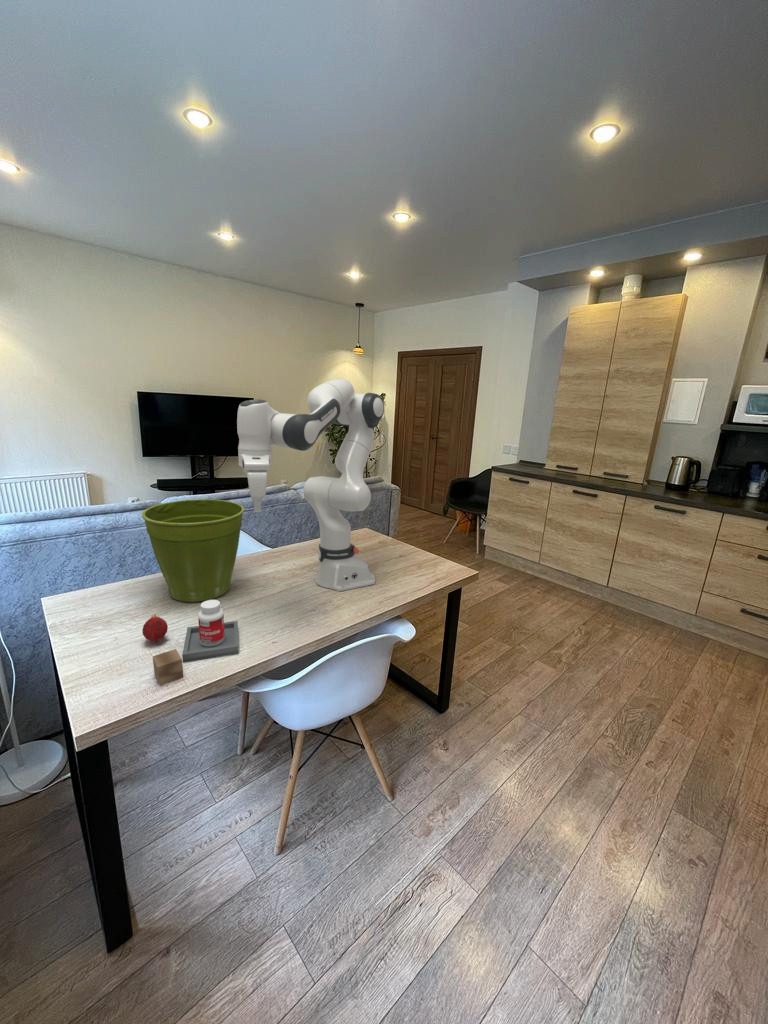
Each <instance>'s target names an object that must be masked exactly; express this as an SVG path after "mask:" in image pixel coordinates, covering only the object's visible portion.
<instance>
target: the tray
mask: <svg viewBox="0 0 768 1024" xmlns="http://www.w3.org/2000/svg"><path fill="white" fill-rule="evenodd" d="M238 624H239V622H238V620H234V621H226V622H225V621H224V632H225V639H224V641H223V642H222V643H221V644H219V645H216V646H212V647H206V646H203V645H201V643H200V636H199V625H195V626H188V627H186V634H185V638H184V642H183V643H184V644H183V648H182V649H183V650H182V655H181V658H182V663H189V662H195V661H201V660H206V659H212V658H213V659H214V658H220V657H226V656H233V655H238V654H239V625H238Z"/></svg>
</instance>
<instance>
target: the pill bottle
mask: <svg viewBox="0 0 768 1024" xmlns="http://www.w3.org/2000/svg"><path fill="white" fill-rule="evenodd" d="M200 610H201V611H199V613H198V616H197V617H198V626H199V636H200V643H201V645H203V646H206V647H212V646H216V645H219V644H221V643H222V642H223V641H224V639H225V632H224V623H225V614H224V610H223V609H222V607H221V602H220V601H219V600H217V599H210V600H205V601H202V602H201V604H200Z"/></svg>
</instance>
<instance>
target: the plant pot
mask: <svg viewBox="0 0 768 1024" xmlns="http://www.w3.org/2000/svg"><path fill="white" fill-rule="evenodd" d="M244 511H245V508H244V506H243V505H242V504H240V503H238V502H234V501H230V500H223V499H214V498H213V499H212V498H211V499H210V498H209V499H207V498H199V499H197V498H196V499H185V500H184V499H183V500H175V501H168V502H164V503H160V504H156V505H152V506H149V507H147V508H146V509H144V510H143V511H142V513H141V518H142V519H143V520H144V523H145V524H144V525H145V528H146V533H147V534H148V536H149V537H148V538H149V540H150V545H151V547H152V551H153V553H154V555H155V556H154V557H155V559H156V562H157V565H158V567H159V569H160V572H161V575H162V576H163V578H164V581H165V583H166V584H167V589H168V593H169V596H170V597H172V599H175V600H177V601H179V602H185V603H188V602H189V603H196V602H204V601H207V600H214V599H215V598H219V597H220V596H222V595H224V594H225V593H226V592H228V591H229V589H230V588H231V586H232V575H233V572H234V567H235V563H236V559H237V555H238V550H239V549H238V548H239V543H240V537H241V536H240V535H241V527H242V526H243V525H242V524H243V514H244Z"/></svg>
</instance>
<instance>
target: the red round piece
mask: <svg viewBox="0 0 768 1024" xmlns="http://www.w3.org/2000/svg"><path fill="white" fill-rule="evenodd" d="M168 629H169V627H168V623H167V621H166V620H165V619H164V618H162V617H160V616H157V614H156V613H153V614H151V617H150V618H149V619H147V621H145V623H143V626H142V636H143V637H144V638H145V639H146V640H147V641H149V642H153V643H157V642H159V641H160V640H162V639H163V638H164V637H165V635H166V634H167V633H168Z"/></svg>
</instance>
